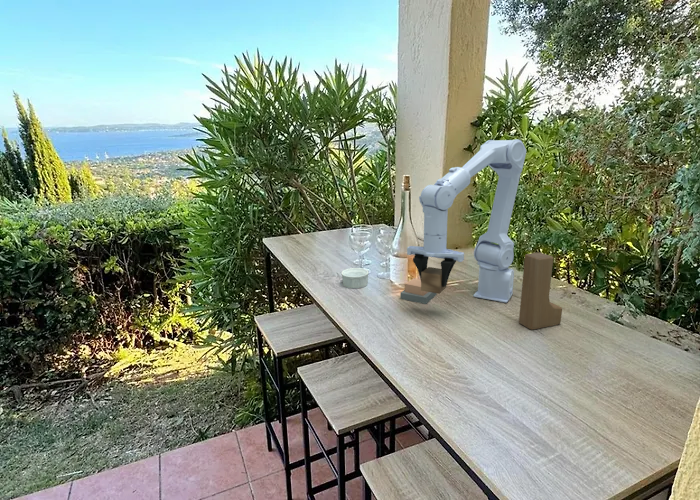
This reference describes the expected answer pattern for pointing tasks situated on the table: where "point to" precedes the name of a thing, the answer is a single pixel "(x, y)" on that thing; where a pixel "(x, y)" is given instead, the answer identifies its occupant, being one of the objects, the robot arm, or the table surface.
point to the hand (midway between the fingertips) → (433, 283)
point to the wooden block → (538, 293)
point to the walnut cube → (432, 280)
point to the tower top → (414, 287)
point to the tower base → (417, 297)
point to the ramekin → (355, 277)
